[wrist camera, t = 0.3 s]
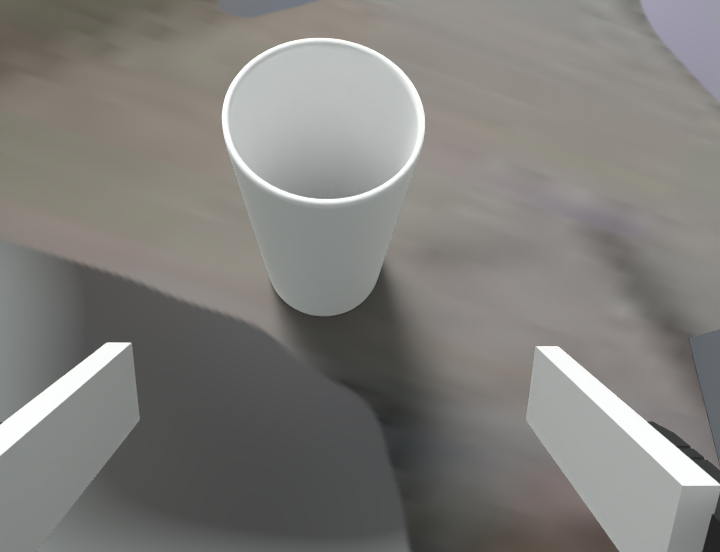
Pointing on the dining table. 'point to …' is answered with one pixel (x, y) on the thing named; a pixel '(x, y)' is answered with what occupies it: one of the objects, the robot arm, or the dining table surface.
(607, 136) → the dining table surface
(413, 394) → the dining table surface
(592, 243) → the dining table surface
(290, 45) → the cup
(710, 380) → the housing
